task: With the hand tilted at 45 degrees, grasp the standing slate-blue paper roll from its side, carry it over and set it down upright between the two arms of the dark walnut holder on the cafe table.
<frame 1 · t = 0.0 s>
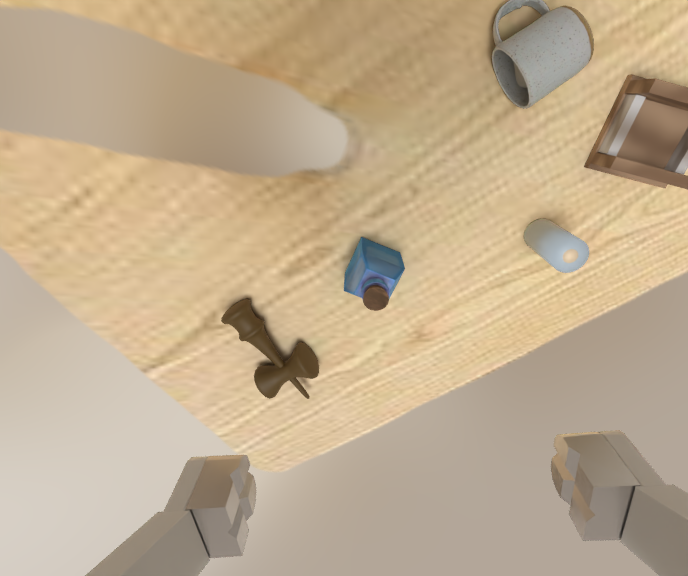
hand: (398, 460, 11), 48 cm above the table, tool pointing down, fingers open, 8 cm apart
holder: (644, 134, 51), on the table
kendama: (276, 344, 67), on the table
ceramic mug: (521, 51, 48), on the table
paper roll: (539, 233, 57), on the table
perfume bottle: (372, 262, 60), on the table
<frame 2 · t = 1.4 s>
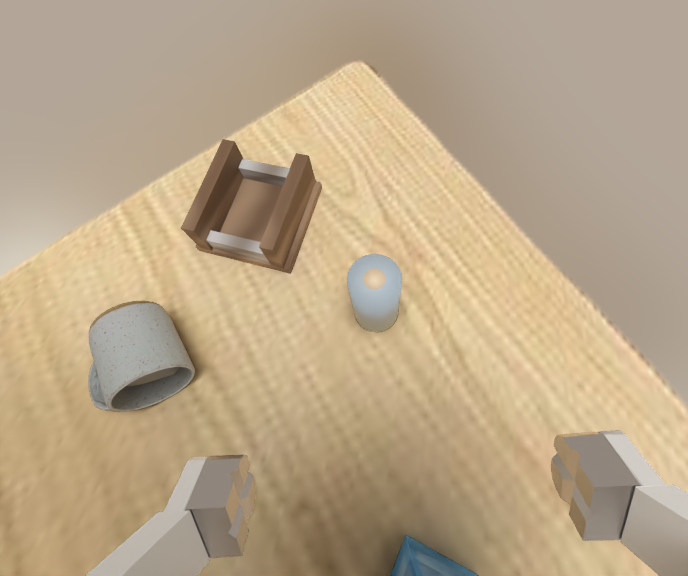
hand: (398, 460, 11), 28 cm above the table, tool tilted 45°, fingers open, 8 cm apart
holder: (261, 218, 46), on the table
ceramic mug: (151, 370, 41), on the table
paper roll: (376, 311, 41), on the table
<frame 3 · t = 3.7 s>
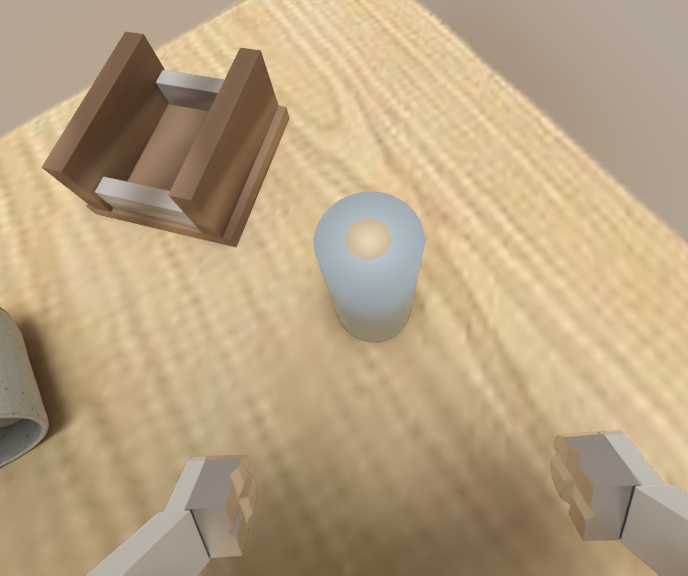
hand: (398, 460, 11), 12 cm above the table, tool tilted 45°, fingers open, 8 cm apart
holder: (194, 164, 29), on the table
paper roll: (373, 306, 24), on the table
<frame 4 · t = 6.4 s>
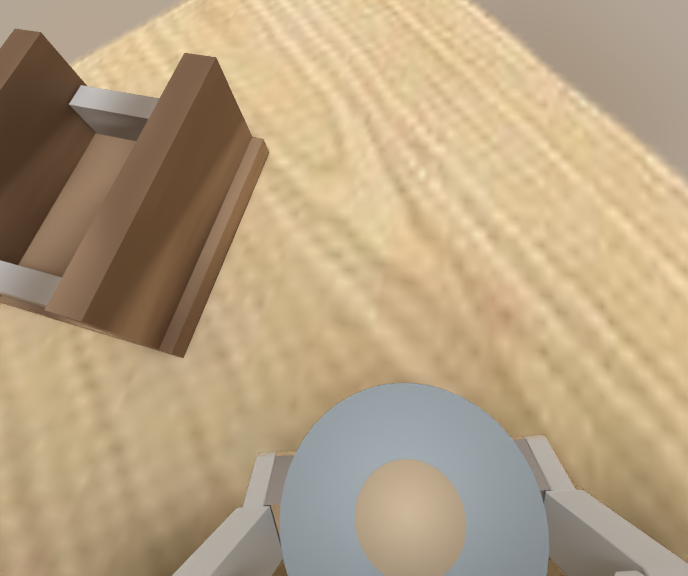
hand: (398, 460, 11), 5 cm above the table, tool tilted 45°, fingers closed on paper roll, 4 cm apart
holder: (130, 222, 20), on the table
paper roll: (396, 471, 15), on the table, touching gripper
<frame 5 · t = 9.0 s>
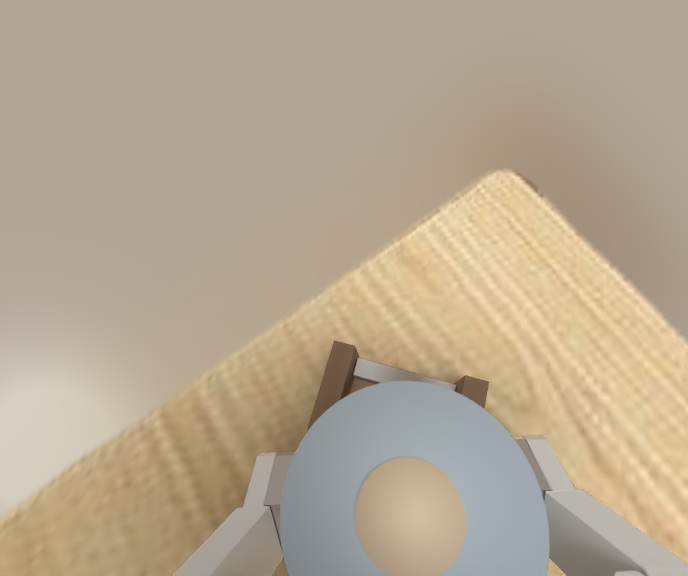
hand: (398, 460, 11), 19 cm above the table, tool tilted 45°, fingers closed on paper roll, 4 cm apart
holder: (387, 448, 29), on the table
paper roll: (396, 469, 15), point 14 cm above the table, touching gripper
when the fingers open (7 cm above the table, at t = 11.7 s): paper roll drops 1 cm, resting on holder.
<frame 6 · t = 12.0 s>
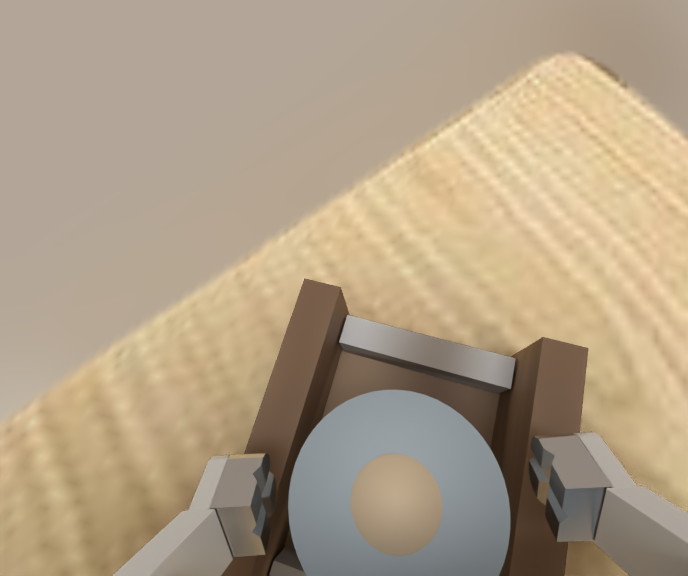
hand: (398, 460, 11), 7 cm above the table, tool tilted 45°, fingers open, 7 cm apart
holder: (395, 465, 17), on the table
paper roll: (392, 466, 16), point 1 cm above the table, touching holder
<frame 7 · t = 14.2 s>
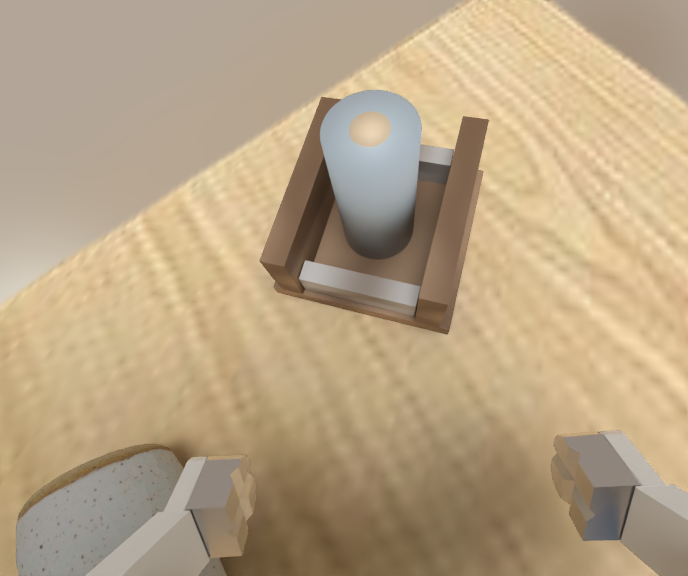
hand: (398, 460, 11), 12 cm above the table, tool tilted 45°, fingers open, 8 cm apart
holder: (380, 235, 27), on the table
ceramic mug: (147, 555, 22), on the table
paper roll: (378, 227, 26), point 1 cm above the table, touching holder
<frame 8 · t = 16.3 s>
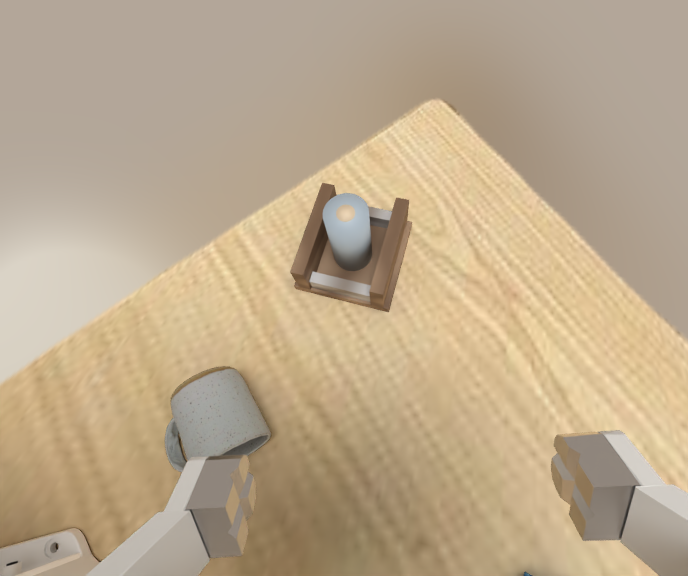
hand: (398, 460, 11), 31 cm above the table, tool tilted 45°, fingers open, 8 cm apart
holder: (354, 257, 47), on the table
ceramic mug: (223, 429, 42), on the table
paper roll: (353, 253, 46), point 1 cm above the table, touching holder
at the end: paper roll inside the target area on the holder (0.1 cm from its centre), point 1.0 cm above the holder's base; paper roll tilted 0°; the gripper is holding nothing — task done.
